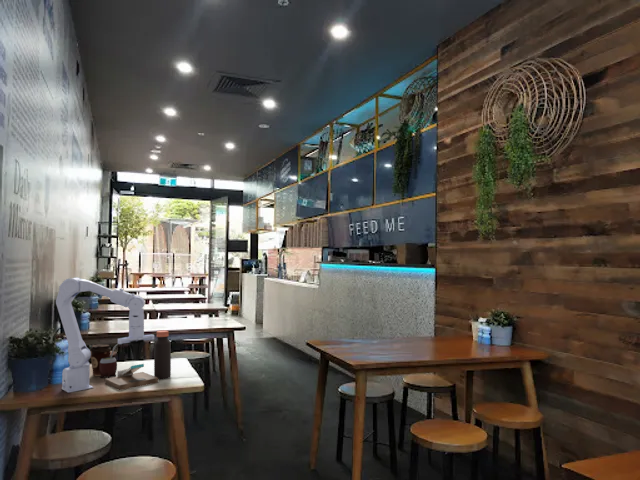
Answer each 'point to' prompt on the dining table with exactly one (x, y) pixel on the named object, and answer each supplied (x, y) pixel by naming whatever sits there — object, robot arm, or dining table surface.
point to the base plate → (130, 380)
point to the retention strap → (132, 369)
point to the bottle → (162, 355)
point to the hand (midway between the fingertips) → (136, 359)
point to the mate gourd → (108, 366)
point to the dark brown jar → (98, 356)
